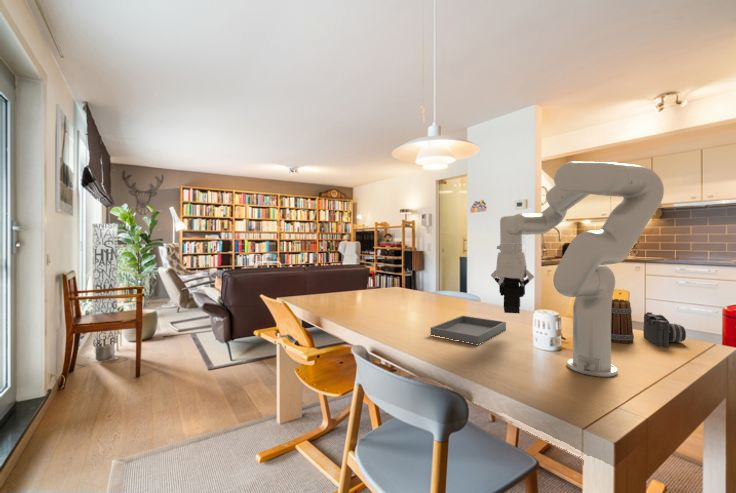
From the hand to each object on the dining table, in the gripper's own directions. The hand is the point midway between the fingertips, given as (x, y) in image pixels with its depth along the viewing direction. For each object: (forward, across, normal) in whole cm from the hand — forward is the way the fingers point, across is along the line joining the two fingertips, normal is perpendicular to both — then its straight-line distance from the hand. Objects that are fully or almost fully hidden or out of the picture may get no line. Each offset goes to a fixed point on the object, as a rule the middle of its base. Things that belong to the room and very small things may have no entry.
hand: (512, 295), depth 130 cm
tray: (+17, -18, 0) cm, 25 cm away
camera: (+18, +43, +34) cm, 58 cm away
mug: (+18, +27, +25) cm, 41 cm away
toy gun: (+6, 0, 0) cm, 6 cm away
